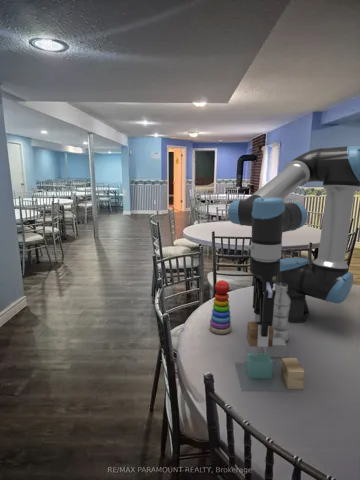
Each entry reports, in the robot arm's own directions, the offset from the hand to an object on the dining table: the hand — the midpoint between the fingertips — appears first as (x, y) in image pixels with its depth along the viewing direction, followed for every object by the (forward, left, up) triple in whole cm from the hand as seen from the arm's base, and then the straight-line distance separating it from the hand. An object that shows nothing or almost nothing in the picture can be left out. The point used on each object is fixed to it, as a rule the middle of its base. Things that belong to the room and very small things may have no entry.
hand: (260, 340), depth 81 cm
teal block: (0, 0, -10) cm, 10 cm away
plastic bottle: (-11, -19, -11) cm, 25 cm away
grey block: (-7, -10, -11) cm, 17 cm away
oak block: (-8, +3, -10) cm, 13 cm away
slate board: (-2, +1, -11) cm, 11 cm away
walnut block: (0, 0, -1) cm, 1 cm away
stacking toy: (+8, -26, -11) cm, 29 cm away
